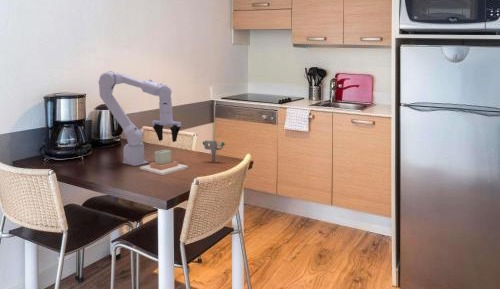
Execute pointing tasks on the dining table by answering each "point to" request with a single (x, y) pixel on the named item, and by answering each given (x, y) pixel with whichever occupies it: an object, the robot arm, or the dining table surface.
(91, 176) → the dining table surface
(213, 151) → the mechanical component
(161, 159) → the striped green box
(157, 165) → the duct plate
